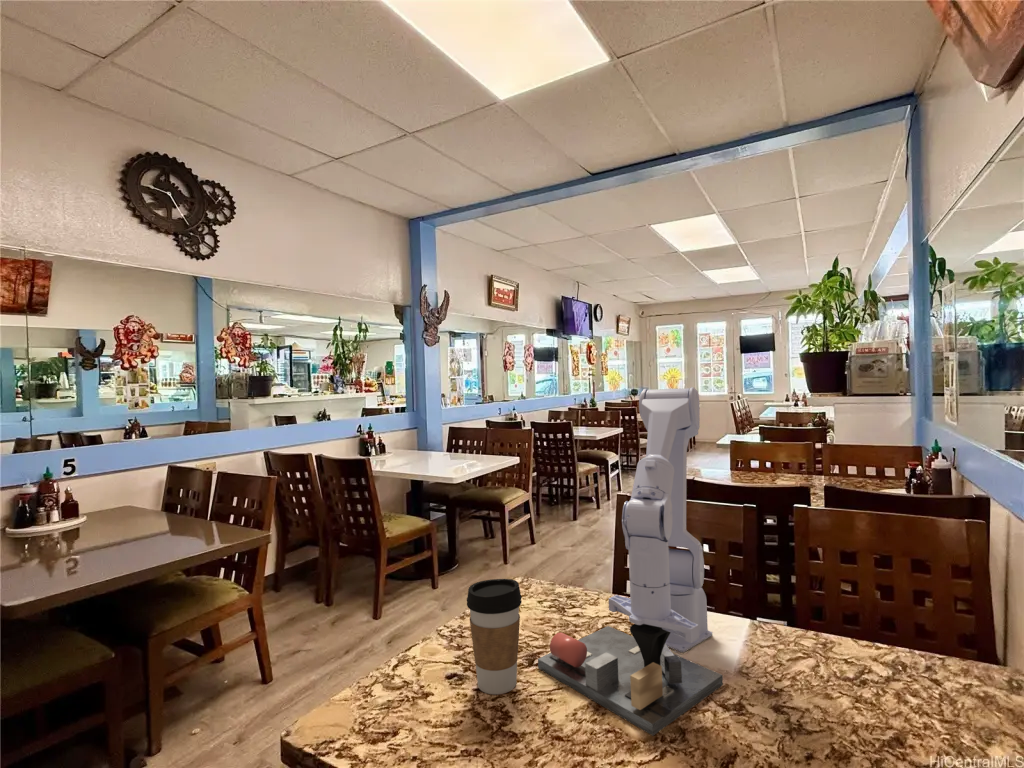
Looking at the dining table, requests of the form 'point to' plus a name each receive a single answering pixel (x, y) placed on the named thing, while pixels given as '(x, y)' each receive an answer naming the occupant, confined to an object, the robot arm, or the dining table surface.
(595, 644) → the panel
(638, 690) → the paddle
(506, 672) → the coffee cup
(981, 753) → the dining table surface
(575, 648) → the red short cylinder
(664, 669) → the lever
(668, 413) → the robot arm
